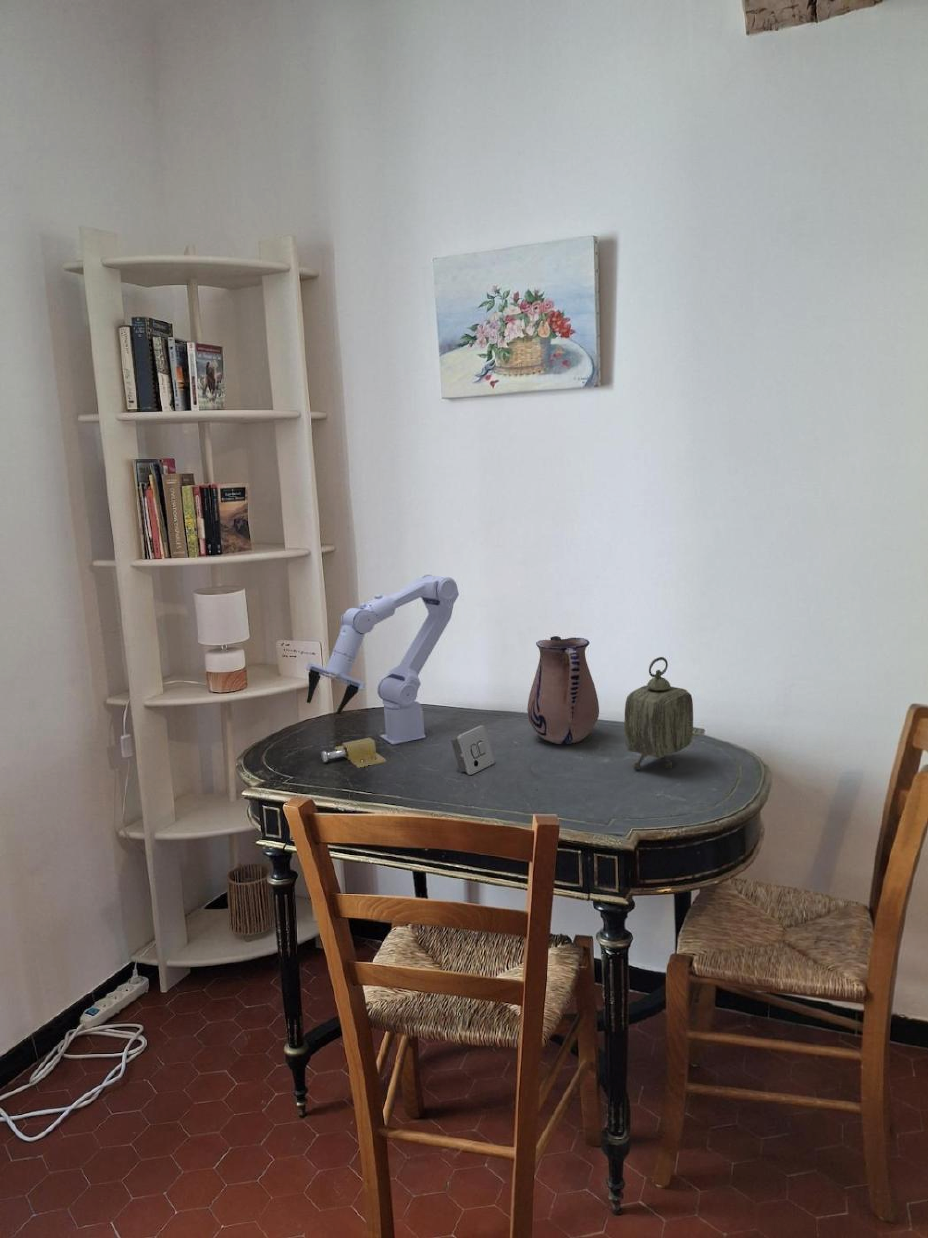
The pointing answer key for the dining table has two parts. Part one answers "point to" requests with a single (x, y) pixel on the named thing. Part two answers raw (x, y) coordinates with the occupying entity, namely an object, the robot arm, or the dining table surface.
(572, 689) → the ceramic pitcher
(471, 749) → the electrical switch
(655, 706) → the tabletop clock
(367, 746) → the hinge leaves
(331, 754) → the hinge pin
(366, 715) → the dining table surface
